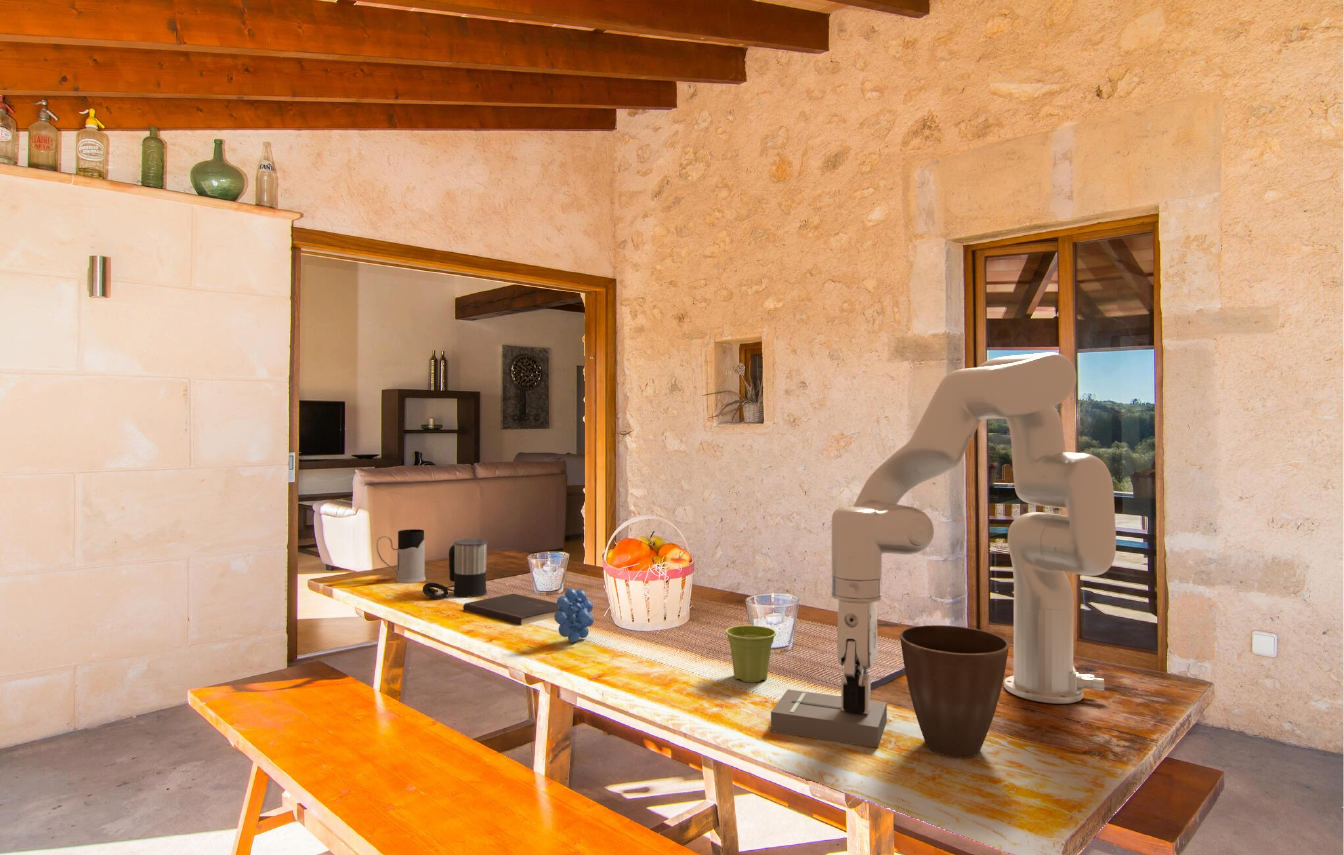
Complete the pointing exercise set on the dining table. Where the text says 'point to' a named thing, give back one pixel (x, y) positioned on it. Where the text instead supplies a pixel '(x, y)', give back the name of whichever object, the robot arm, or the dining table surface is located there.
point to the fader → (867, 691)
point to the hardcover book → (513, 608)
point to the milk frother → (464, 570)
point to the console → (828, 719)
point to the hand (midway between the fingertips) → (855, 705)
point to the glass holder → (409, 556)
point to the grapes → (574, 614)
